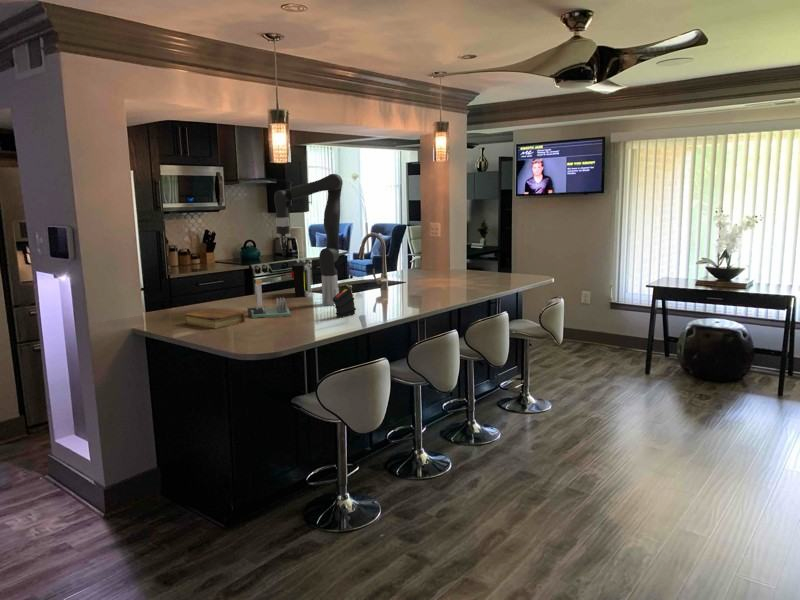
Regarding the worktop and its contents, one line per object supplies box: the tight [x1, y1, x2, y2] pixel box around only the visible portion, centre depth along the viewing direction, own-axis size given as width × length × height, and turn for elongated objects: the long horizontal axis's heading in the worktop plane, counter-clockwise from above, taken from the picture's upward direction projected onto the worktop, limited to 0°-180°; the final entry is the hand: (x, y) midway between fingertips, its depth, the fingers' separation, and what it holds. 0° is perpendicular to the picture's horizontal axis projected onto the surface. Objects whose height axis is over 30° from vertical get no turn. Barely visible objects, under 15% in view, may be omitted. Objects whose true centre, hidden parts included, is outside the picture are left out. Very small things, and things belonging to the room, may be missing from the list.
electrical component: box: [290, 261, 313, 298], centre depth 389 cm, size 18×10×20 cm, turn 179°
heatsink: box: [247, 297, 287, 317], centre depth 329 cm, size 17×20×7 cm
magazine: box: [333, 286, 357, 318], centre depth 320 cm, size 4×13×15 cm, turn 138°
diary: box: [184, 307, 246, 330], centre depth 305 cm, size 23×19×6 cm
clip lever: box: [253, 279, 264, 313], centre depth 323 cm, size 5×6×17 cm
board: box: [251, 305, 292, 319], centre depth 329 cm, size 22×20×2 cm
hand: (284, 255), depth 352 cm, fingers closed
